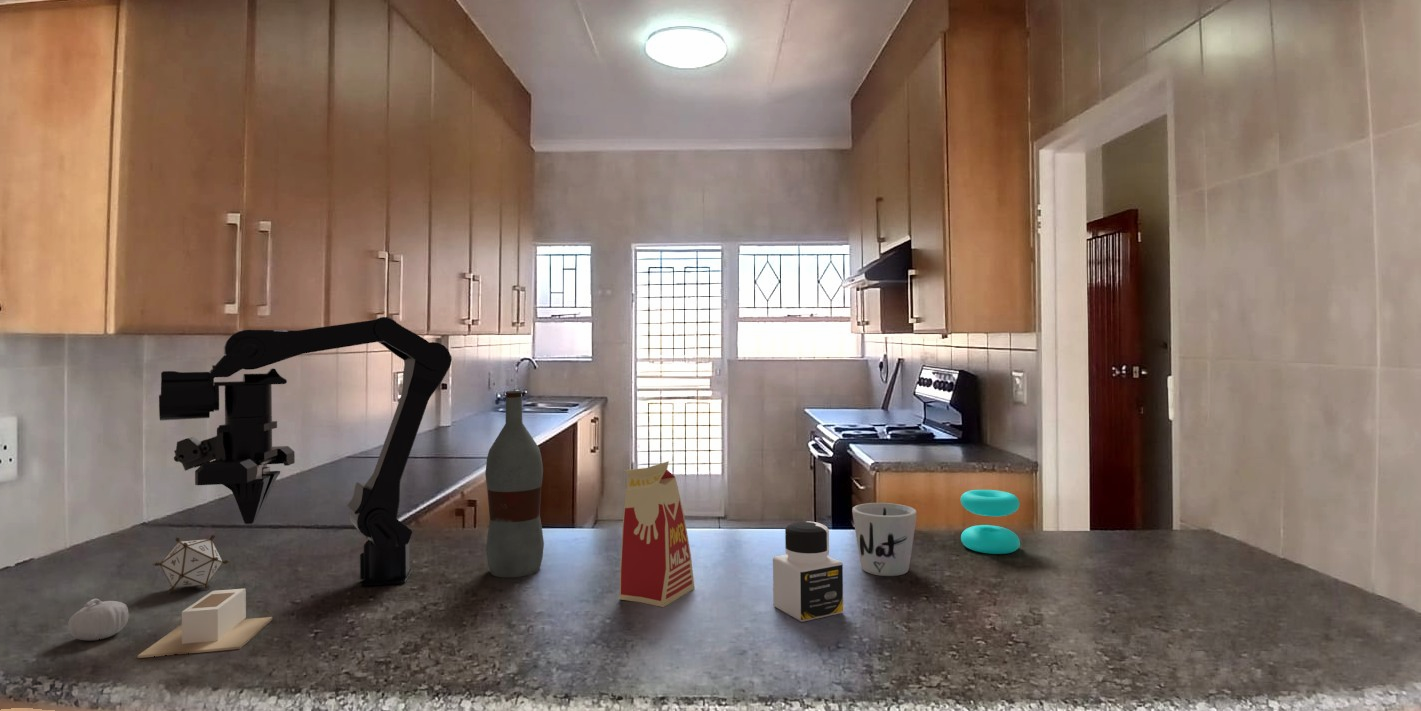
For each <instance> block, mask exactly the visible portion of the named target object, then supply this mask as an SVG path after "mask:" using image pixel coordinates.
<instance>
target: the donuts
mask: <svg viewBox="0 0 1421 711" xmlns="http://www.w3.org/2000/svg"><path fill="white" fill-rule="evenodd" d="M960 504H961V506H962V507H963V508H964V509H965V510H966V511H968V512H970V513H972V514H974V515H979V516H984V517H1004V516H1009V515H1013V514H1014V513H1015V512H1017V511H1018V509H1019V508H1020V506H1021V505H1020V504H1021V503H1020V500H1019V498H1018V497H1017V496H1016V495H1015V494H1013V493H1011V492H1007V491H1005V490H1004V491H1002V490H996V489H970V490H968V491H965V492H963V493H962V494H961V496H960ZM960 540H961V543H962V545H963V546H965V548H967V549H969V550H972V551H974V552H977V553H983V554H990V555H991V554H992V555H1005V554H1011V553H1014V552H1016V551H1017V550H1019V548H1020V545H1021V541H1020V537H1018V534H1016V533H1015V532H1014V531H1012V530H1011V529H1008V528H1006V527H1002V526H998V525H991V524H980V525H979V524H978V525H972V526H970V527H967V528H965V529H964V530H963V531H962V533H961V535H960Z"/></svg>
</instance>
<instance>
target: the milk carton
mask: <svg viewBox="0 0 1421 711" xmlns="http://www.w3.org/2000/svg"><path fill="white" fill-rule="evenodd" d="M668 466H669V461H666V462H662V463H661V462H660V463H658V464H655V465H654V464H653V465H652V466H649V467H641V468H640V467H639V468H633V469H624V470H623V471H624V472H625V473H626V474H627V475H628V476H627V481H626V482H627V483H626V487H625V498H624V499H625V500H624V507H623V517H622V530H621V531H622V532H621V547H620V549H621V550H620V562H619V563H620V566H619V596H618V598H619V600H621V601H622V600H623V601H628V602H629V601H631V602H637V603H643V604H647V605H651V606H657V607H661V608H664V607H666V606H668V605H669V604H672V603H673V602H674V601H676V600H678V599H680V598H681V597H683V596H684V595H686V594H688V593H689V592H691V591H692V590H694V589H695V581H694V580H695V579H694V570H693V563H692V562H693V561H692V553H691V548H690V543H689V542H690V541H689V536H688V529H687V525H686V524H687V523H686V517H685V513H684V508H683V505H682V501H681V500H682V499H681V497H680V496H681V495H680V492H679V487H678V483H677V478H676V476H675V475H674V474H673V473H671V472H670V471H669V470H668Z"/></svg>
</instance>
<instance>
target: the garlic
mask: <svg viewBox="0 0 1421 711" xmlns="http://www.w3.org/2000/svg"><path fill="white" fill-rule="evenodd" d="M129 616H130V615H129V608H128V606H127V604H125V603H124V602H121V601H116V600H105V601H101V600H100V599H98V598H92V599H91V600H88V601H87V602H86V603H85V604H84V607H82V608H81V609H79V610H78V611H77V612H75V613H74V614H72V615H71V616H70V618H69V619H68V623H67V629H68V632H69V634H70V635H71V636H72V637H73V638H74V639H77V640H81V641H100V640H104V639H107V638H110V637H112V636H114V635H116V634H117V633H119V632H121V630H122V629H124V628H125V626H126V625H127V624H128V621H129ZM99 639H100V640H99Z"/></svg>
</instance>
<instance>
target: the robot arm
mask: <svg viewBox="0 0 1421 711" xmlns="http://www.w3.org/2000/svg"><path fill="white" fill-rule="evenodd" d="M373 343H379V344H380V345H382V346H383V347H385V348H386V349H387V350H389V351H390V352H391V353H393V355H395V356H397V357H398V358H400V359H401V360H403V361H404V366H403V370H402V371H403V372H402V391H401V394H400V397H399V401H398V404H397V406H396V409H395V412H394V415H393V417H392V420H391V423H390V426H389V429H388V431H387V433H386V437H385V440H384V442H383V445H382V448H381V452H380V453H379V456H378V459H377V462H376V464H375V468H374V471H373V473H372V475H371V476H370V477H369V479H368V480H367V481H366V482H365V483H364V484H362V483H360V482H355V485H354V491H353V495H352V498H351V500H350V501H349V502H348V503H347V505H346V507H347V508H348V509H350V510H349V511H350V512H349V519H350V521H351V523H352V525H353V526H354V528H356V529H357V530H358V532H360V533H361V534H362V535H364V537H365V538H366V539H368V540H366V542H365V543H364V544H363V551H362V552H361V553H360V554H359V579H360V580H362V581H361V582H360V587H368V586H385V585H394V584H397V585H398V584H404V583H406V581H407V580H408V579H409V577H410V575H411V574H412V572H413V568H410V564H411V563H410V541H411V536H412V534H413V531H412V529H410V528H409V527H408V526H407V525H405V524H404V523H403V522H401V520H399V519H398V516H399V508H400V501H401V500H400V499H401V498H400V497H401V481H402V477H403V474H404V472H405V469H406V465H407V463H408V460H409V457H410V455H411V452H412V448H413V446H414V443H415V441H416V437H417V434H418V432H419V429H420V426H421V423H422V420H423V417H424V415H425V412H426V409H427V407H428V403H429V400H430V399H431V397H432V396H433V394H434V393H435V391H436V390H438V387H439V386H440V385H441V384H442V382H443V380H444V378H445V376H446V375H447V373H448V371H449V369H450V368H451V365H452V360H453V359H452V354H451V353H450V351H449V349H448V348H447V347H446V346H445V345H443V344H442V343H439V342H435V341H431V342H429V341H428V340H427V339H425V338H424V337H422V336H420V335H419V334H416V333H415V332H413V331H412V330H410V329H408V328H406V327H404V326H402V325H401V324H400V323H398V322H397V321H396V320H395V319H393V318H392V317H387V316H382V317H377V318H374V319H372V320H371V319H370V320H364V321H358V322H357V321H356V322H348V323H343V324H335V325H328V326H322V327H315V328H307V329H300V330H289V329H288V330H283V329H282V330H281V329H280V330H279V329H243V330H240V331H236V332H234V333H233V334H232V335H231V336H229V337H228V338H227V339H226V341H225V343H224V346H223V356H222V357H221V358H220V359H219V360H218V362H216V364H215V365H213V364H212V365H211V369H210V371H186V372H183V371H181V372H180V371H175V370H164V371H163V370H162V372H160V394H158V410H159V411H158V412H159V413H158V414H159V415H158V416H159V421H176V420H177V421H179V420H195V419H196V420H199V419H210V416H211V415H210V413H211V412H212V413H213V412H215V411H216V412H217V411H218V412H219V411H220V387H224V424H220V425H218V427H217V428H216V435H215V436H212V437H210V438H207V439H203V440H201V441H200V440H199V439H198V438H196V437H194V436H192V437H187V438H184V439H181V440H179V441H176V448H175V450H174V454H175V455H174V456H173V460H174V462H177V463H178V462H179V463H181V465H182V466H183V469H184V471H189V470H191V469H195V468H196V470H195V471H194V485H195V486H214V485H223V486H224V487H226V488H227V489H229V490H230V492H232V495H233V497H234V499H235V501H236V505H237V507H238V510H239V512H240V514H241V518H242V521H243V523H244V524H245V525H253V524H254V523H256V521H257V519H258V517H259V516H260V514H261V511H262V509H263V506H264V504H265V502H266V500H267V498H268V496H269V495H270V494H269V493H270V492H271V490H272V488H273V487H274V485H275V482H276V481H277V479H278V476H280V475H281V471H280V470H271V467H270V466H268V465H280V464H283V465H284V467H285V466H291V465H293V464H295V462H296V461H295V458H296V456H295V454H296V453H295V451H294V449H292V448H291V447H290V446H289V445H281V446H279V445H278V446H276V445H275V446H273V430H274V429H277V428H278V421H277V420H275V421H274V420H273V411H272V410H273V407H272V406H273V403H272V401H273V400H272V399H273V398H272V397H273V396H272V394H273V393H272V391H273V390H272V387H273V386H272V385H285V384H287V383H288V381H287V379H286V378H285V377H283V376H281V375H280V373H278V371H277V369H276V368H273V367H272V368H270V369H269V370H268V372H266V373H244V374H243V375H242V376H243V377H242V380H237V381H236V380H235V381H214V379H215V378H230V377H232V376H233V375H235V374H236V373H238V372H239V371H242V370H245V371H246V370H249V371H250V370H256V369H260V368H264V367H267V366H270V365H273V364H276V363H279V362H282V361H285V360H287V359H291V358H293V357H296V356H300V355H303V354H310V353H315V352H317V353H318V352H321V351H322V352H323V351H329V350H334V349H340V348H346V347H354V346H360V345H368V344H373Z"/></svg>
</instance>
